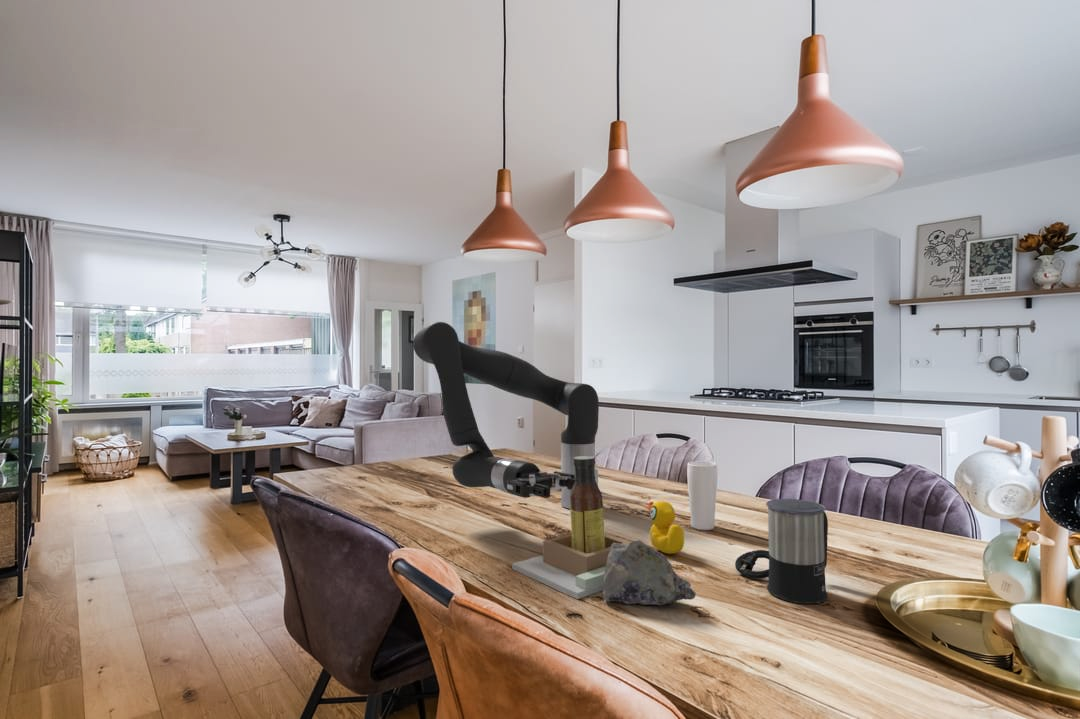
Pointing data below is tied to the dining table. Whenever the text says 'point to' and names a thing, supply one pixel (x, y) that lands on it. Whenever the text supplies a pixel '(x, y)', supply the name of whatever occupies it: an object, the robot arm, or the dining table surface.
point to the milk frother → (793, 551)
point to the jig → (569, 566)
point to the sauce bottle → (586, 508)
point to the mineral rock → (642, 576)
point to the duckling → (665, 528)
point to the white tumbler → (702, 493)
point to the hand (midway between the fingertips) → (565, 489)
